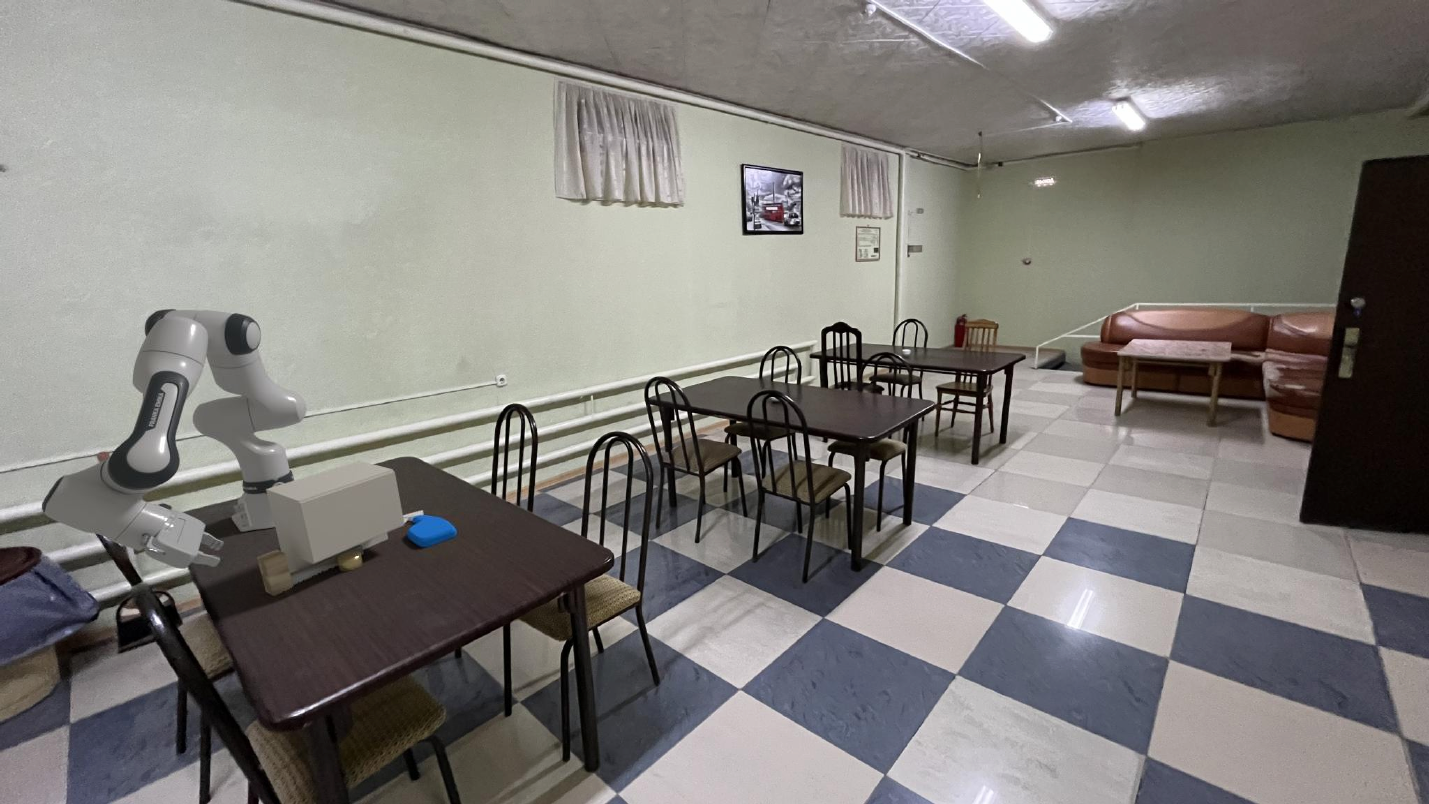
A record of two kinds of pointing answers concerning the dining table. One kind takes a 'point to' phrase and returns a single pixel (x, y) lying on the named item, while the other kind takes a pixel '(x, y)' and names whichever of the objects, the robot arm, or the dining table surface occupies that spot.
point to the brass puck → (350, 560)
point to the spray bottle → (428, 529)
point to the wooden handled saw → (282, 579)
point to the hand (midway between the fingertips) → (219, 554)
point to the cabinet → (335, 512)
